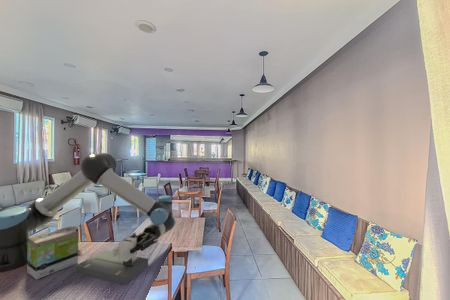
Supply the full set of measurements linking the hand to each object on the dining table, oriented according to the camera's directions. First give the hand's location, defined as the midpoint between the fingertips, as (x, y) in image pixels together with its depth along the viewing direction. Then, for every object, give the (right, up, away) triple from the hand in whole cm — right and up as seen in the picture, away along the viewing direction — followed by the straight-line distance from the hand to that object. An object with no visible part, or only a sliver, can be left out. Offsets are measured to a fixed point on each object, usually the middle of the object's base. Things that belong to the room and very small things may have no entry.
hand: (118, 254), depth 85 cm
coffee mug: (-38, -9, +26) cm, 47 cm away
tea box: (-32, -10, +8) cm, 34 cm away
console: (-6, -10, +7) cm, 14 cm away
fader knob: (+1, -7, +5) cm, 8 cm away
